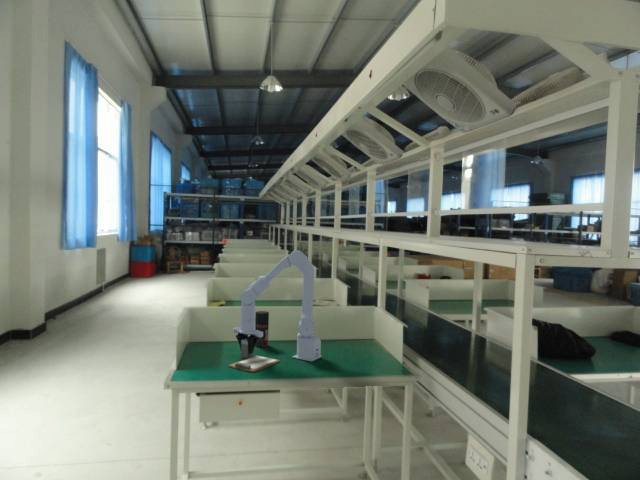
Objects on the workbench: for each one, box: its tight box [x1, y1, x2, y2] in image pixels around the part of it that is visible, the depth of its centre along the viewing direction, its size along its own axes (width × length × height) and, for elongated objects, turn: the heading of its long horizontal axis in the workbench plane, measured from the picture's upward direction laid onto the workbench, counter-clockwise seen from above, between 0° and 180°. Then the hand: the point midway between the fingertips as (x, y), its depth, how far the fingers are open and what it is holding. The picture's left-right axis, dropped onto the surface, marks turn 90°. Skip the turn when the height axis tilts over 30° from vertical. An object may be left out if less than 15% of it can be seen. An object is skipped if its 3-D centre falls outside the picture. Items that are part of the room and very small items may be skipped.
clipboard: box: [228, 354, 281, 373], centre depth 157 cm, size 12×16×2 cm
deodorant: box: [255, 310, 270, 348], centre depth 185 cm, size 6×6×15 cm
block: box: [240, 338, 254, 359], centre depth 167 cm, size 4×4×7 cm
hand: (247, 352), depth 167 cm, fingers closed on block, 3 cm apart
